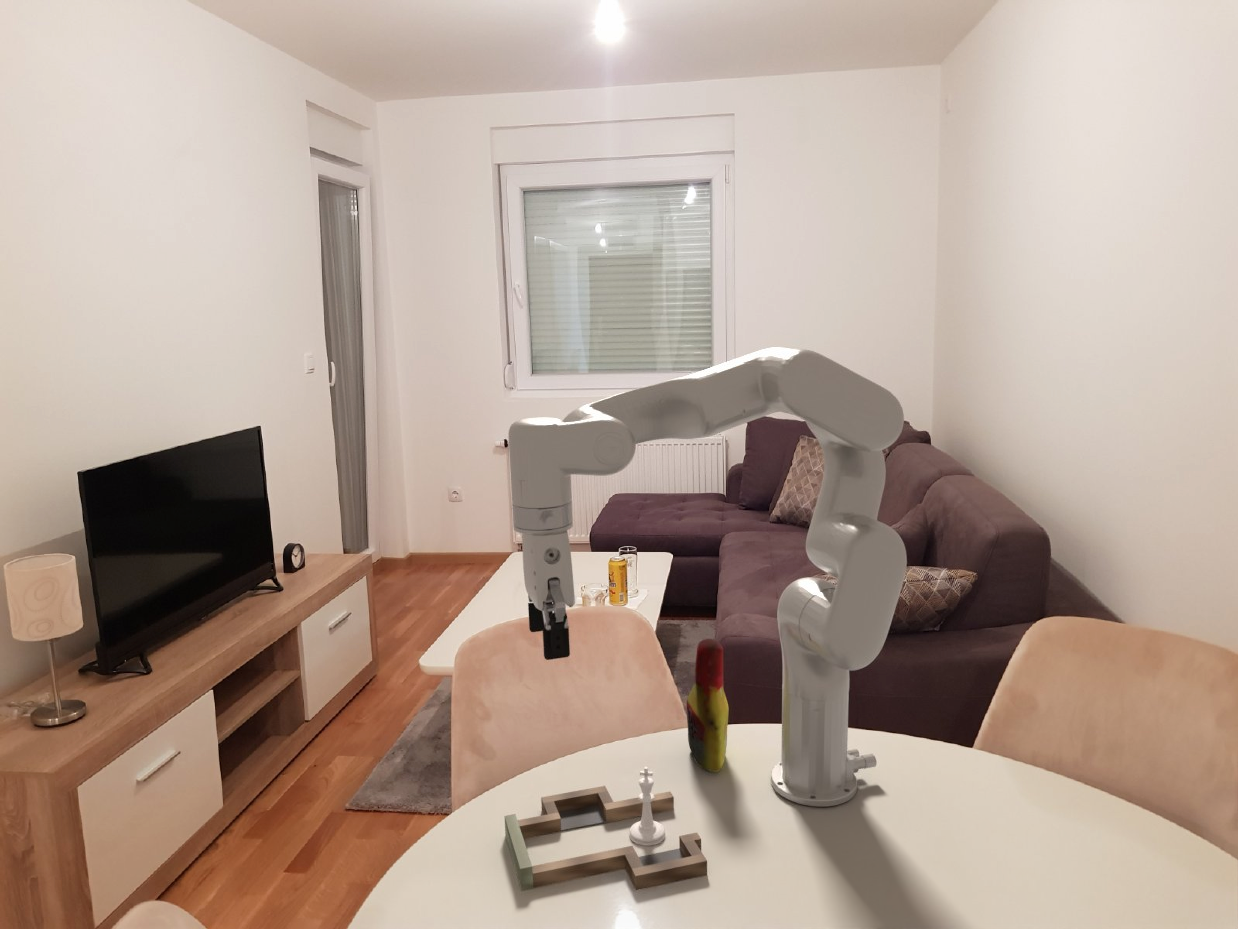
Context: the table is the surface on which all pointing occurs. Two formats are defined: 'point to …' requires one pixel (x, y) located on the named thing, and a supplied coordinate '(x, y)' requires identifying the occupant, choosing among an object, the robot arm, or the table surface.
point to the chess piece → (646, 816)
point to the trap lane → (597, 810)
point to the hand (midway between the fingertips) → (548, 643)
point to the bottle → (708, 708)
